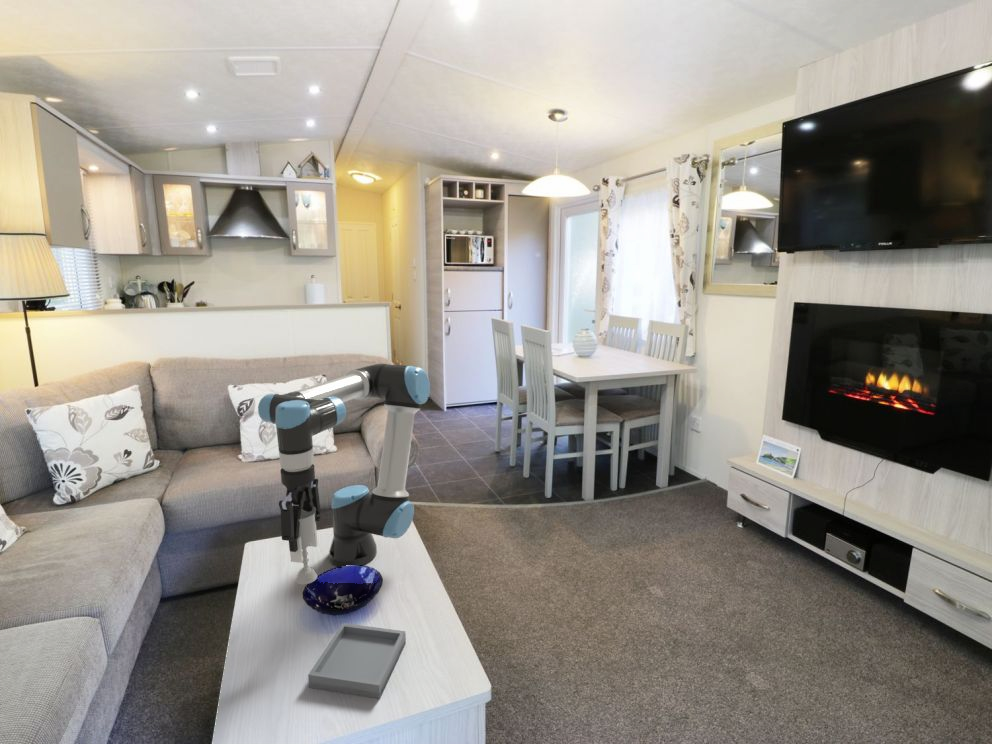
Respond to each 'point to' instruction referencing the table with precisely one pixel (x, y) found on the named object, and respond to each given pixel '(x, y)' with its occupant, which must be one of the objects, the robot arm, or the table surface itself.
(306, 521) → the chalice
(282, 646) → the table surface
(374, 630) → the tray
